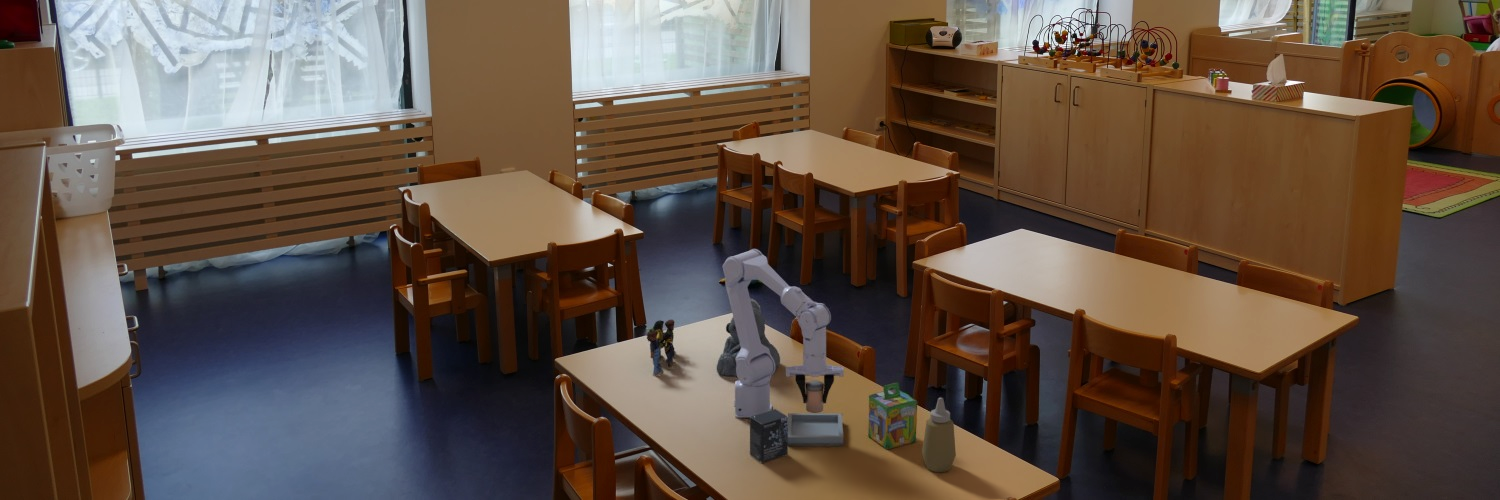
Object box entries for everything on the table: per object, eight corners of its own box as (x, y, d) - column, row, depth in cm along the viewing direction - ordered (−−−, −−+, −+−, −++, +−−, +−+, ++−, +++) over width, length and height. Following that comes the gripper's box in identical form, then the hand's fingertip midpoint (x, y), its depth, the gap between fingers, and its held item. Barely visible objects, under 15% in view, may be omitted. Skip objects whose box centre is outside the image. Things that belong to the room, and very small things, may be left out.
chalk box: (887, 450, 291) (888, 395, 287) (866, 436, 299) (867, 382, 295) (917, 442, 295) (919, 388, 291) (896, 428, 303) (898, 375, 299)
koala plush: (724, 354, 353) (723, 293, 348) (783, 357, 351) (783, 295, 345) (714, 377, 337) (713, 313, 331) (777, 380, 334) (776, 315, 329)
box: (762, 463, 286) (761, 424, 283) (749, 455, 290) (748, 416, 287) (788, 455, 290) (788, 416, 287) (775, 446, 294) (775, 408, 291)
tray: (787, 445, 295) (787, 437, 294) (788, 421, 308) (787, 413, 307) (843, 446, 294) (843, 437, 293) (841, 421, 307) (841, 413, 307)
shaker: (805, 413, 297) (805, 387, 295) (805, 405, 302) (805, 380, 300) (823, 413, 297) (823, 388, 295) (823, 405, 301) (823, 380, 299)
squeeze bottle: (918, 460, 286) (920, 392, 281) (950, 458, 287) (953, 390, 281) (925, 476, 278) (927, 406, 273) (959, 474, 279) (962, 404, 274)
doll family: (679, 378, 336) (678, 335, 332) (648, 380, 335) (646, 337, 332) (675, 349, 358) (674, 308, 354) (646, 350, 357) (644, 309, 353)
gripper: (785, 358, 291) (785, 408, 295) (844, 358, 290) (843, 408, 294) (785, 347, 298) (786, 396, 302) (843, 347, 297) (842, 396, 301)
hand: (814, 401), depth 298 cm, fingers closed on shaker, 4 cm apart
